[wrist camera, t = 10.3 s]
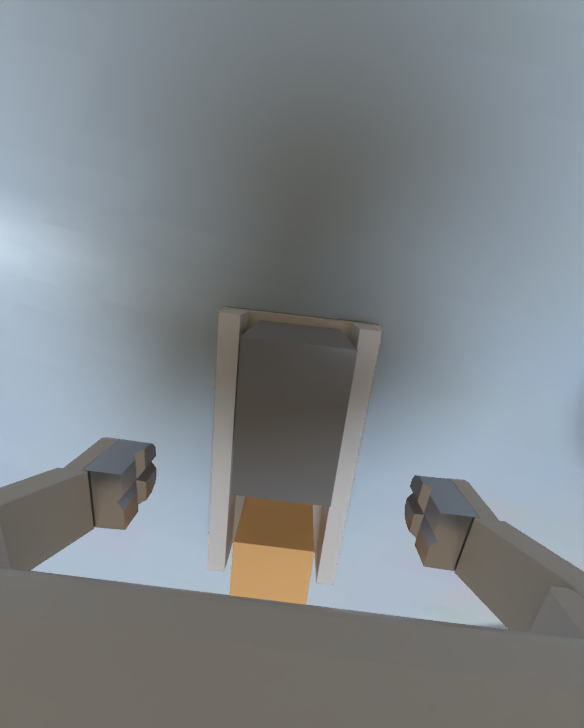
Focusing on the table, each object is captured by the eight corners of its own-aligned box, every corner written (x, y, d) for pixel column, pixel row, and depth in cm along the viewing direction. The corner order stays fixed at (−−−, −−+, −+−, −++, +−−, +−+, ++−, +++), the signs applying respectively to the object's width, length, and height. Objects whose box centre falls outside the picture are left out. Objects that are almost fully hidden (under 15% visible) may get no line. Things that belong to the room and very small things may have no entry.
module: (260, 320, 18) (240, 336, 12) (340, 329, 18) (357, 350, 12) (251, 434, 20) (230, 494, 15) (322, 443, 20) (330, 506, 14)
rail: (224, 306, 19) (194, 314, 14) (377, 324, 19) (405, 339, 14) (214, 529, 24) (188, 599, 19) (335, 544, 24) (345, 619, 18)
